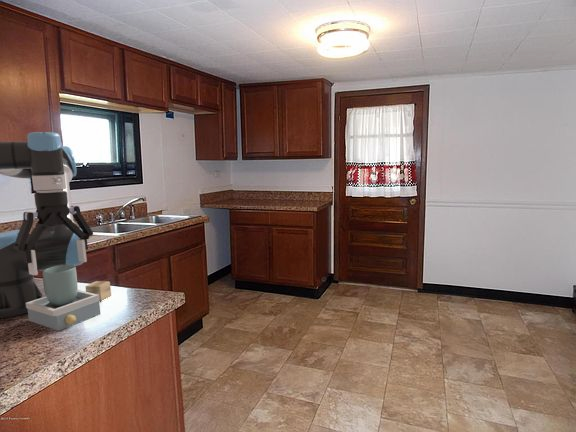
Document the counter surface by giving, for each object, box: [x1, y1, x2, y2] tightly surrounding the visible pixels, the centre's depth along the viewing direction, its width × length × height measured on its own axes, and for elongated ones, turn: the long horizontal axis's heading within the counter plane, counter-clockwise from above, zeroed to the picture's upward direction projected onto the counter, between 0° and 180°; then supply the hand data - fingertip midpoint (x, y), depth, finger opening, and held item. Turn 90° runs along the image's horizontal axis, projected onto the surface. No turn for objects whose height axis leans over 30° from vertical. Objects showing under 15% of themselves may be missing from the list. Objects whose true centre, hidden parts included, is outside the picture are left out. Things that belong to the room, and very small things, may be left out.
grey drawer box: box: [26, 289, 101, 331], centre depth 108 cm, size 15×13×6 cm
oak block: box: [85, 280, 112, 302], centre depth 123 cm, size 5×5×5 cm
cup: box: [42, 265, 79, 306], centre depth 107 cm, size 8×8×10 cm
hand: (59, 267), depth 107 cm, fingers open, 13 cm apart
